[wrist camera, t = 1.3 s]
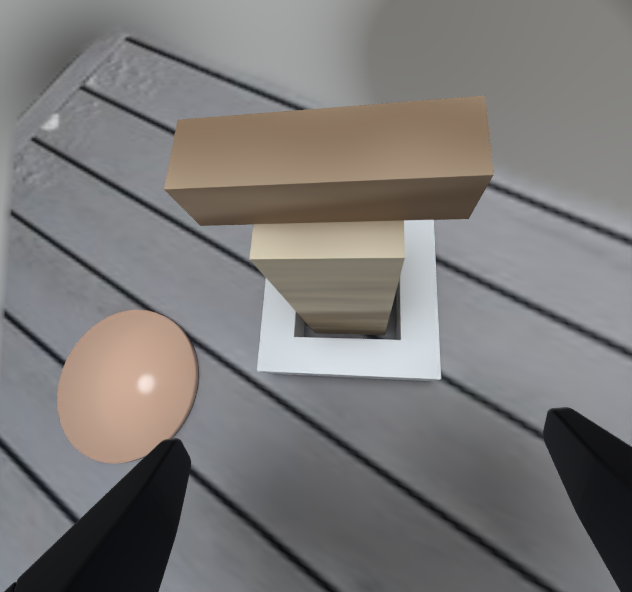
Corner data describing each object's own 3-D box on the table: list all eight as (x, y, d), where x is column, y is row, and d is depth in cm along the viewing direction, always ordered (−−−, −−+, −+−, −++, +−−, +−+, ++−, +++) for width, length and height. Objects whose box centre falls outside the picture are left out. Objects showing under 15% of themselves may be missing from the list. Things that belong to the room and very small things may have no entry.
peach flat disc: (186, 468, 21) (181, 470, 21) (48, 455, 23) (40, 456, 22) (207, 312, 24) (204, 310, 23) (83, 310, 26) (77, 308, 25)
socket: (431, 381, 21) (440, 379, 18) (271, 373, 22) (257, 371, 19) (425, 231, 23) (433, 208, 20) (283, 233, 25) (272, 213, 22)
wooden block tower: (412, 335, 22) (498, 221, 7) (289, 332, 23) (156, 229, 9) (411, 269, 23) (481, 58, 8) (294, 269, 24) (184, 86, 10)
